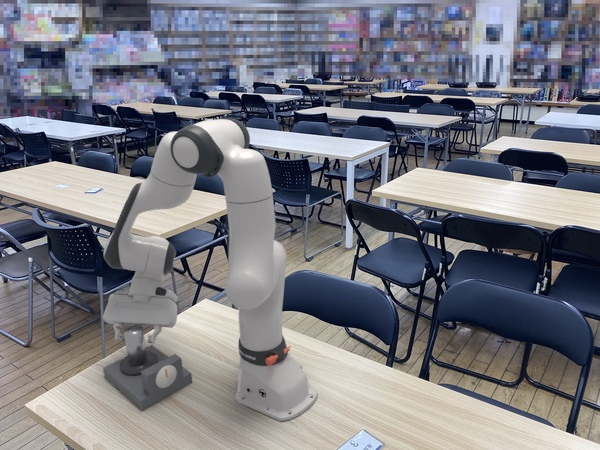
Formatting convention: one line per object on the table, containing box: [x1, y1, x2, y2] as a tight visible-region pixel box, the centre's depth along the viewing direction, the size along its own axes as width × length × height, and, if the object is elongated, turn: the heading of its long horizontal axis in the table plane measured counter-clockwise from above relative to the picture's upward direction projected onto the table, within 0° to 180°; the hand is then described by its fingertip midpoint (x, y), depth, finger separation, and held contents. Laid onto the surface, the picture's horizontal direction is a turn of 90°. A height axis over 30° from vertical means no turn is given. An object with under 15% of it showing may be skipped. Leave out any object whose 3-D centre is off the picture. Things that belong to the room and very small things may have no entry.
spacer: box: [123, 325, 148, 367], centre depth 131 cm, size 5×5×10 cm
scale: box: [102, 344, 193, 412], centre depth 130 cm, size 20×15×9 cm
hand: (134, 341), depth 130 cm, fingers open, 8 cm apart
